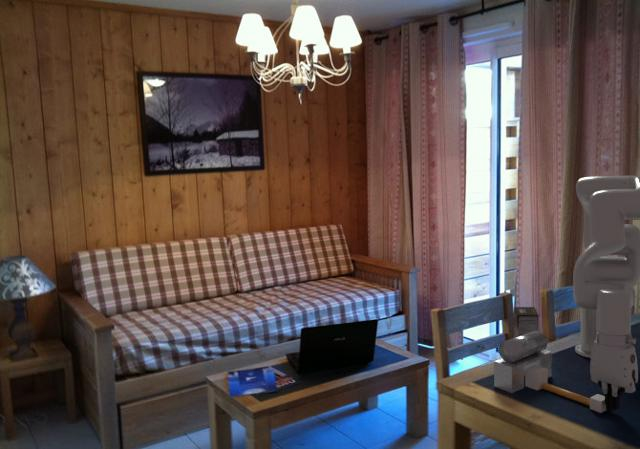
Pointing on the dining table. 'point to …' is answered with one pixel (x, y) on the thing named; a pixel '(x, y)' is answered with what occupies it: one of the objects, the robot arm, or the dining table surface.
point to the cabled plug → (539, 379)
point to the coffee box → (525, 320)
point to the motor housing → (520, 360)
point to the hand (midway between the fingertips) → (612, 408)
